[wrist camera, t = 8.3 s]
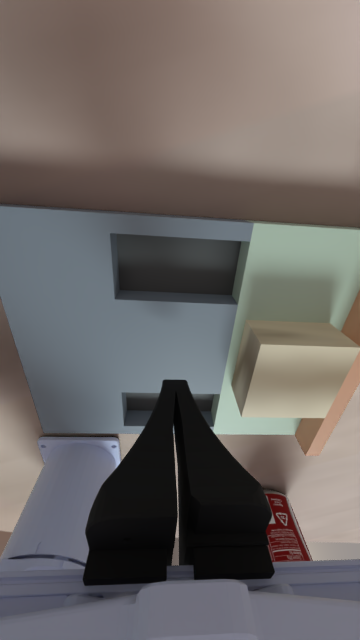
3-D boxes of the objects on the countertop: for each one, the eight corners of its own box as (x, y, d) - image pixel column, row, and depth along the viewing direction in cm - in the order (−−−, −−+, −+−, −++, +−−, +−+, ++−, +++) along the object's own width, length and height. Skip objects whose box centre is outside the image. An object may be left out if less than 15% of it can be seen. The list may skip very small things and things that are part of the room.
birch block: (303, 387, 19) (324, 418, 16) (231, 385, 19) (241, 417, 16) (329, 323, 16) (361, 347, 14) (245, 319, 16) (261, 344, 13)
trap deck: (296, 417, 24) (318, 455, 20) (53, 414, 22) (31, 455, 19) (377, 228, 15) (440, 238, 12) (-4, 203, 14) (-64, 205, 10)
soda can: (229, 493, 30) (262, 654, 19) (280, 480, 29) (344, 642, 18) (243, 516, 33) (278, 666, 22) (290, 504, 32) (350, 656, 21)
